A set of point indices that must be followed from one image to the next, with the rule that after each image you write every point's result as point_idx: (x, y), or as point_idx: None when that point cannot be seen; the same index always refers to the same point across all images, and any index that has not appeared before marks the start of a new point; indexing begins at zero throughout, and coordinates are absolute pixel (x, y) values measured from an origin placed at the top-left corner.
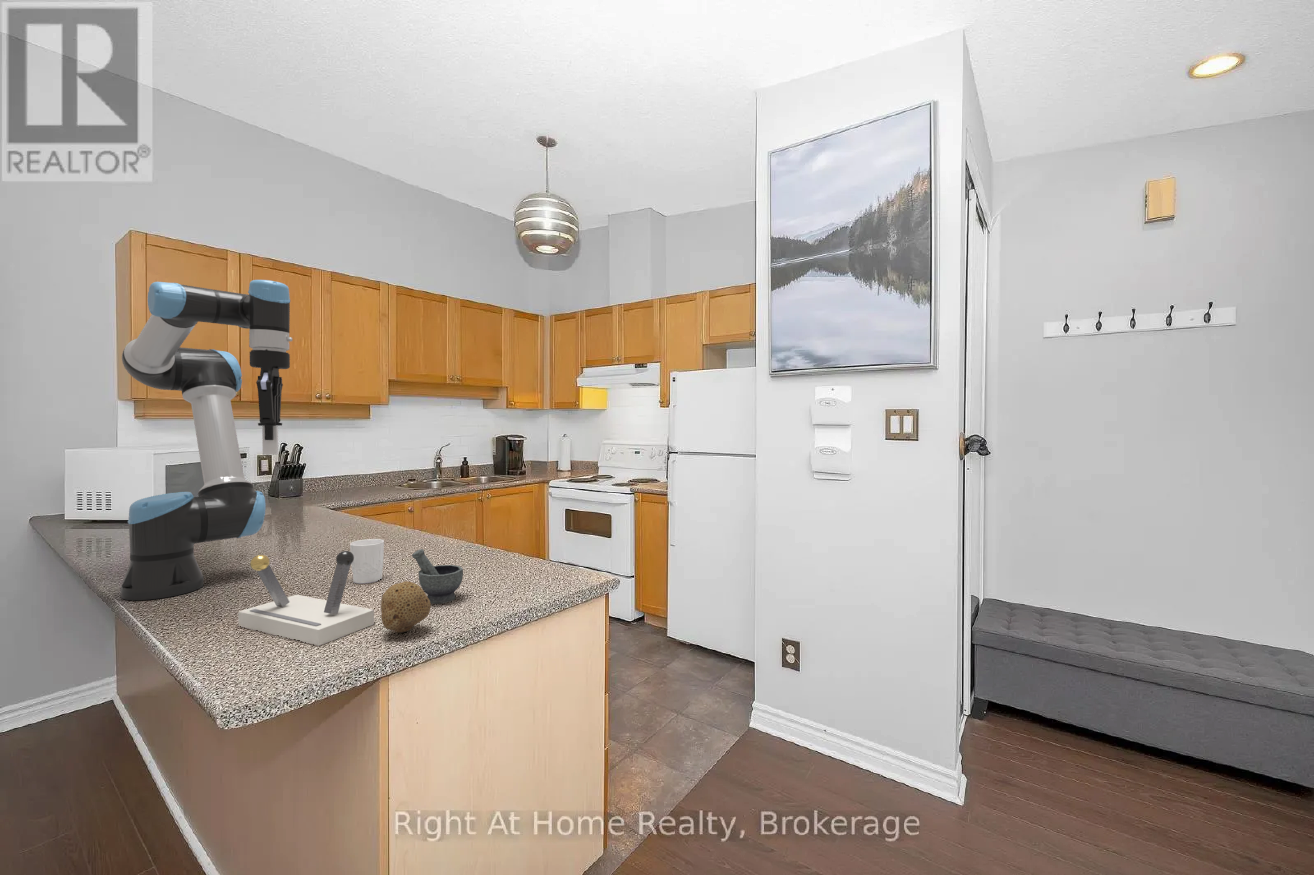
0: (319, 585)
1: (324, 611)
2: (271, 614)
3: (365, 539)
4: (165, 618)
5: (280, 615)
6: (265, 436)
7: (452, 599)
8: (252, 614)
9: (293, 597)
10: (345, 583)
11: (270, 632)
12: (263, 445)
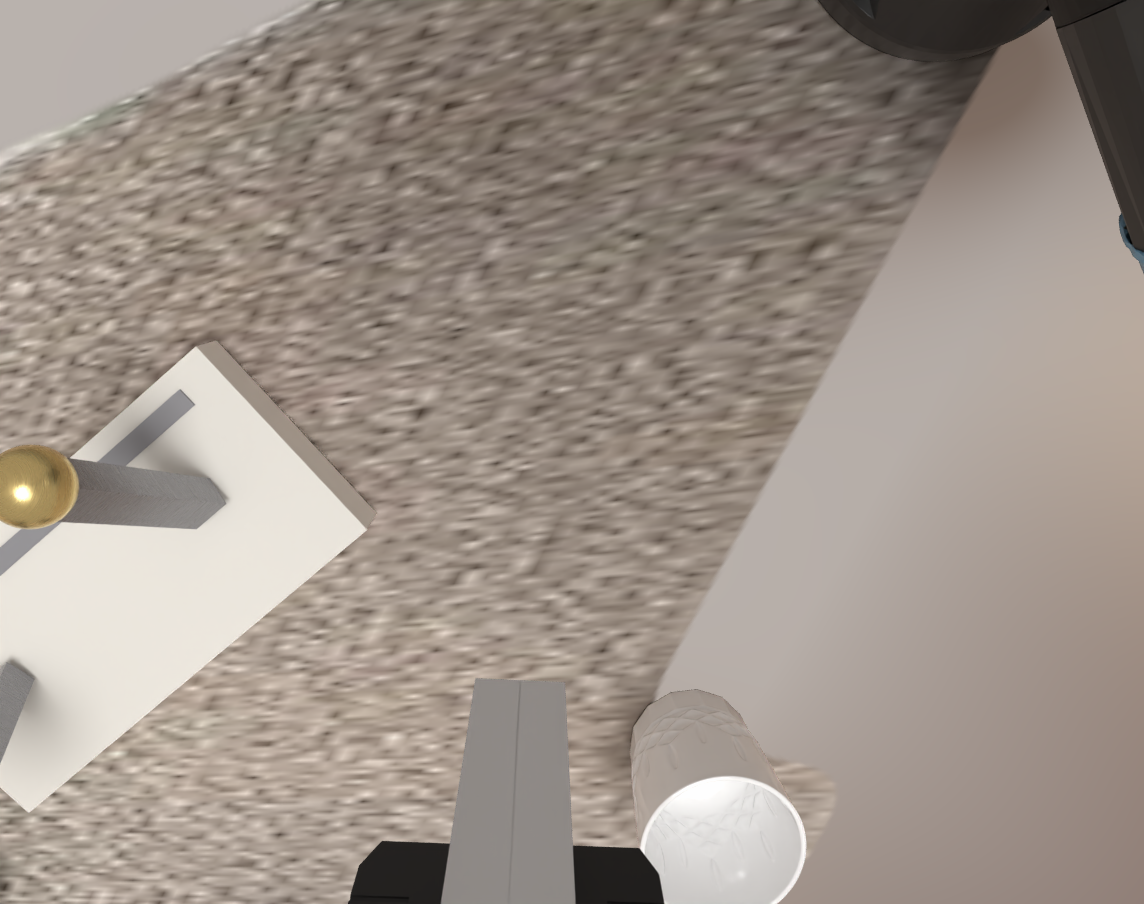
0: (695, 562)
1: (3, 666)
2: None
3: (802, 841)
4: (447, 33)
5: None
6: (358, 891)
7: None
8: (131, 406)
9: (324, 523)
10: None
11: None
12: (467, 756)
